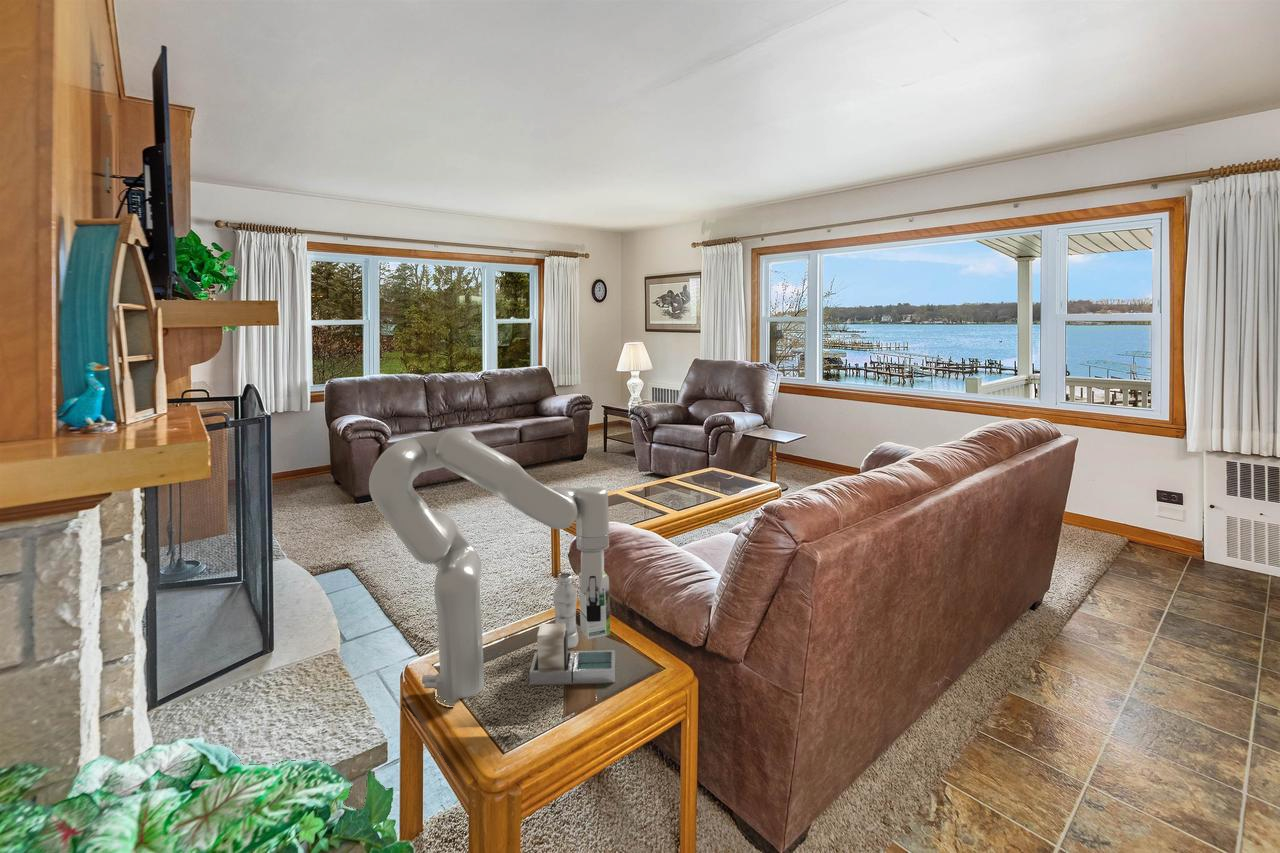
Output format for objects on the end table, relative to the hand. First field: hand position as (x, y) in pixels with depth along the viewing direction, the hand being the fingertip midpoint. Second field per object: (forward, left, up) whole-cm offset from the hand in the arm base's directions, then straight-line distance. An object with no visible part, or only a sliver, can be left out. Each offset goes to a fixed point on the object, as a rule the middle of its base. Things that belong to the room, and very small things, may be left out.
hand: (594, 613), depth 144 cm
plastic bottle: (-8, +15, -16) cm, 24 cm away
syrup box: (0, 0, -5) cm, 5 cm away
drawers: (-5, 0, -16) cm, 17 cm away
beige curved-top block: (-10, 0, -15) cm, 18 cm away
